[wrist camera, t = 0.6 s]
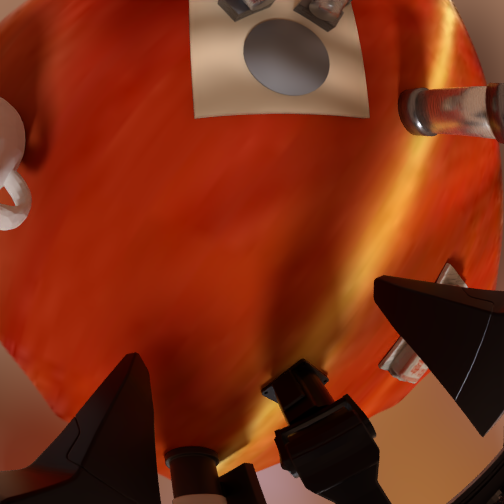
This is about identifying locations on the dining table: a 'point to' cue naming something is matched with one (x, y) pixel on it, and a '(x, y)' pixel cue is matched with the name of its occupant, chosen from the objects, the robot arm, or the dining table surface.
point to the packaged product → (402, 355)
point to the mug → (12, 167)
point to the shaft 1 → (243, 7)
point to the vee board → (274, 63)
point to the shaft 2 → (322, 11)
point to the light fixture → (210, 479)
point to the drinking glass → (454, 111)
